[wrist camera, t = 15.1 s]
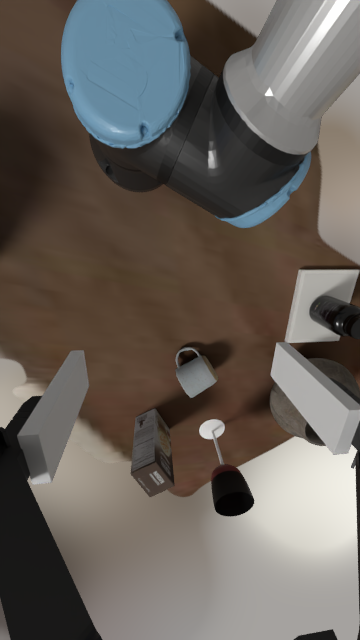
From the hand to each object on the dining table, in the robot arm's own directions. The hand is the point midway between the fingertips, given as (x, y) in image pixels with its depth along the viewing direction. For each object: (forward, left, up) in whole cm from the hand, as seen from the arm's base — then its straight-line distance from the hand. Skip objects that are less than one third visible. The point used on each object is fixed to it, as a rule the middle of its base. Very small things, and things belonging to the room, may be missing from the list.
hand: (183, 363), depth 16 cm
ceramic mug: (+24, +7, -37) cm, 44 cm away
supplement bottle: (+9, +38, -36) cm, 53 cm away
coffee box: (+42, -3, -37) cm, 56 cm away
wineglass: (+46, +14, -37) cm, 61 cm away
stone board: (+9, +38, -37) cm, 54 cm away
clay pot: (+31, +37, -37) cm, 61 cm away
